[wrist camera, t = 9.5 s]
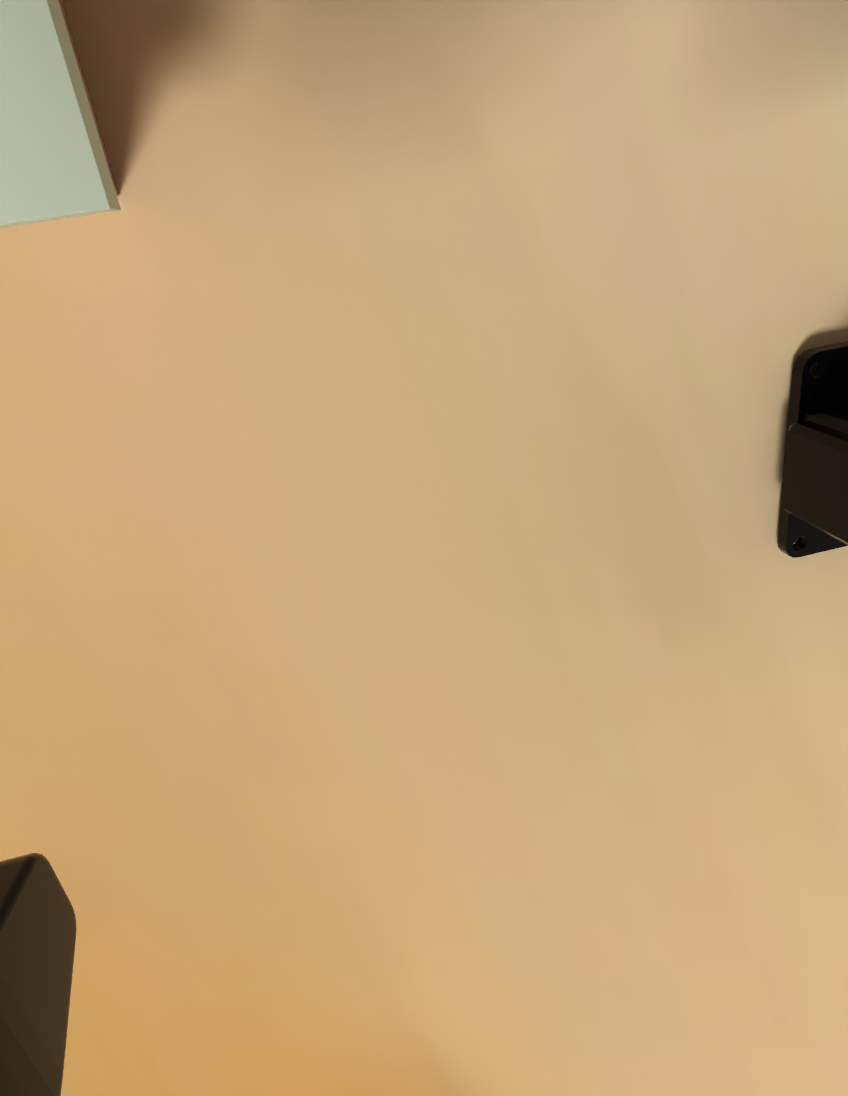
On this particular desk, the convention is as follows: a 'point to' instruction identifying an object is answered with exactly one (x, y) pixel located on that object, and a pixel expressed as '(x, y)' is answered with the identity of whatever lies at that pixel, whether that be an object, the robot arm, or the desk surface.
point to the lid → (46, 122)
